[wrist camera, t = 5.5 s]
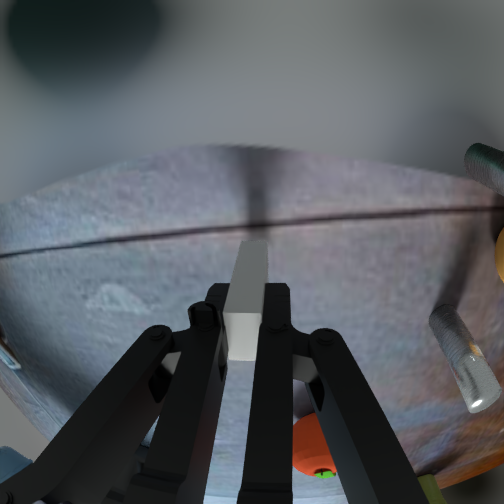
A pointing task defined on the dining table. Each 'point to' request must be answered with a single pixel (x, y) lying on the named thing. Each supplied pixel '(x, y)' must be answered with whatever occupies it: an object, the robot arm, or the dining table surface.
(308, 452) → the clementine
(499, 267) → the ball
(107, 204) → the dining table surface
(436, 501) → the plant pot
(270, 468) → the robot arm
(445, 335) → the post
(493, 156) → the post
